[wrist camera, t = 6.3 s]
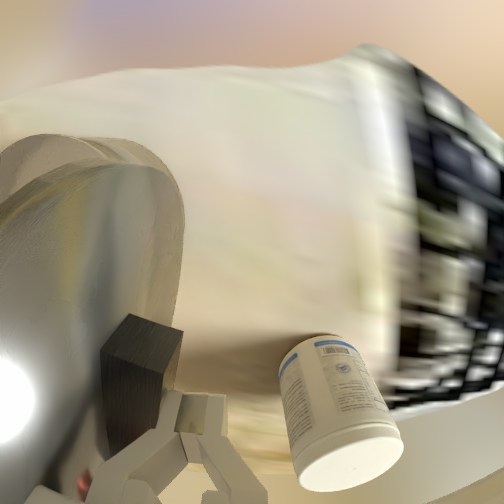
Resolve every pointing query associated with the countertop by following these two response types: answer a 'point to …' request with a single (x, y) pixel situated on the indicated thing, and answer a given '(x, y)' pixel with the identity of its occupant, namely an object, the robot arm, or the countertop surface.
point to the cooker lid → (84, 320)
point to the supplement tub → (335, 416)
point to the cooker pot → (67, 158)
